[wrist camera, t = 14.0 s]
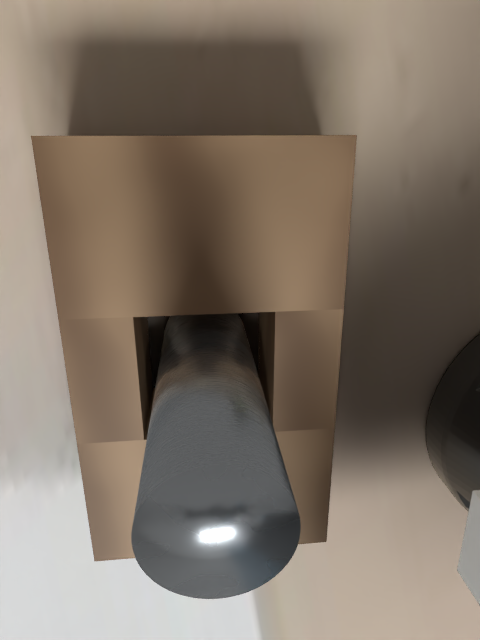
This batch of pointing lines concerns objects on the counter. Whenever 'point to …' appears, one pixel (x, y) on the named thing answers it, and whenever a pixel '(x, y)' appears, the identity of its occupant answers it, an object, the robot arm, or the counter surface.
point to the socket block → (196, 290)
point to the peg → (212, 468)
